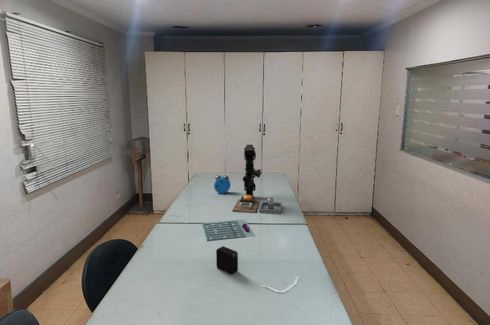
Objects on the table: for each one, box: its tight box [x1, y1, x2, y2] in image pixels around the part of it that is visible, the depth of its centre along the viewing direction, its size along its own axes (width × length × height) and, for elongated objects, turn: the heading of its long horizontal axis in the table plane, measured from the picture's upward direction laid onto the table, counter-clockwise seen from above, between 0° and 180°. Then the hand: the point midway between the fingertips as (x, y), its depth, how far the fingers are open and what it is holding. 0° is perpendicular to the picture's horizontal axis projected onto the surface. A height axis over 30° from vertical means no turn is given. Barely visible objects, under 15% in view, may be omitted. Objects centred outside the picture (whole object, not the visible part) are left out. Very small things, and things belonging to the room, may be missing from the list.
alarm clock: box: [213, 175, 232, 195], centre depth 272 cm, size 13×6×15 cm, turn 86°
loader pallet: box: [232, 195, 260, 214], centre depth 241 cm, size 24×16×4 cm, turn 171°
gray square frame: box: [258, 201, 283, 214], centre depth 236 cm, size 16×15×2 cm
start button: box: [242, 194, 252, 200], centre depth 247 cm, size 7×7×2 cm
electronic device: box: [215, 245, 239, 275], centre depth 155 cm, size 4×10×10 cm, turn 51°
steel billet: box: [267, 197, 275, 210], centre depth 235 cm, size 4×4×8 cm
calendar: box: [201, 218, 256, 242], centre depth 202 cm, size 27×28×2 cm
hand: (249, 187), depth 243 cm, fingers open, 9 cm apart
